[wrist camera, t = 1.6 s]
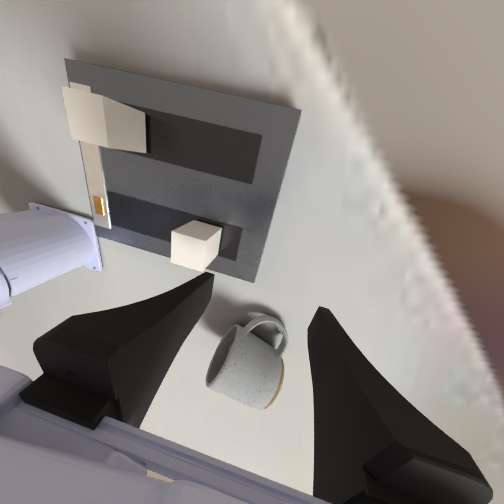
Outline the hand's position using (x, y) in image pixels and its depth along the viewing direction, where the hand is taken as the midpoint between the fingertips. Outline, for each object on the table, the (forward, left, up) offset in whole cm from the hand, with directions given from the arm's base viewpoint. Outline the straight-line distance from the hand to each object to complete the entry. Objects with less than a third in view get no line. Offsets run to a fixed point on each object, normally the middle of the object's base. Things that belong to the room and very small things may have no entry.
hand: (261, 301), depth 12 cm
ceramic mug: (+1, -15, -10) cm, 17 cm away
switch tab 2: (-7, 0, -7) cm, 10 cm away
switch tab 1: (-15, +8, -7) cm, 19 cm away
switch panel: (-11, +4, -9) cm, 15 cm away
